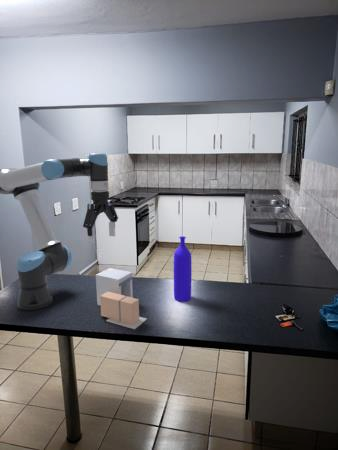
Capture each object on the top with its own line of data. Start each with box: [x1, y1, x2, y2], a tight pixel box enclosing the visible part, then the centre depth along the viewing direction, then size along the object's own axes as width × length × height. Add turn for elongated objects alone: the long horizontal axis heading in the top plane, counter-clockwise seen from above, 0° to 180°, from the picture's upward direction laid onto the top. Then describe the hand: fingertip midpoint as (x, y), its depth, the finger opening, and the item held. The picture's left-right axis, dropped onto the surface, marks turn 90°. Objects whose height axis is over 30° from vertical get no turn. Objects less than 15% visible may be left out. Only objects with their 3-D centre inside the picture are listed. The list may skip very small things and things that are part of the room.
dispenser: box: [95, 267, 134, 307], centre depth 154 cm, size 13×10×14 cm
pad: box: [106, 316, 148, 330], centre depth 140 cm, size 14×9×1 cm, turn 61°
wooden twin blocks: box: [100, 292, 140, 325], centre depth 140 cm, size 16×5×9 cm, turn 61°
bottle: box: [173, 236, 192, 303], centre depth 156 cm, size 8×8×30 cm
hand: (102, 239), depth 147 cm, fingers open, 13 cm apart
